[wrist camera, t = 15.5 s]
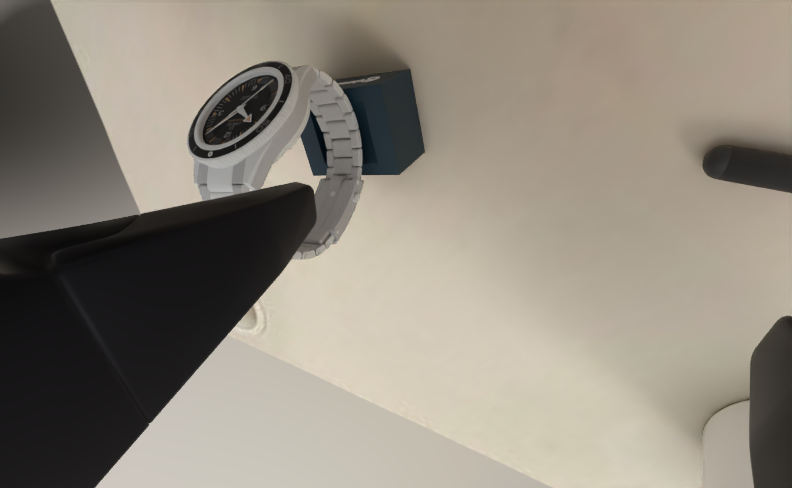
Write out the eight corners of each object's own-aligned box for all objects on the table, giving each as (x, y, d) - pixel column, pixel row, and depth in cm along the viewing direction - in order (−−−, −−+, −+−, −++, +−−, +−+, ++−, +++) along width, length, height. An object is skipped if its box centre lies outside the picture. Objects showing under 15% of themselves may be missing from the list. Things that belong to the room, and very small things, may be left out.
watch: (402, 25, 20) (230, 79, 12) (429, 181, 24) (315, 301, 16) (311, 44, 22) (122, 98, 14) (349, 181, 26) (217, 283, 18)
